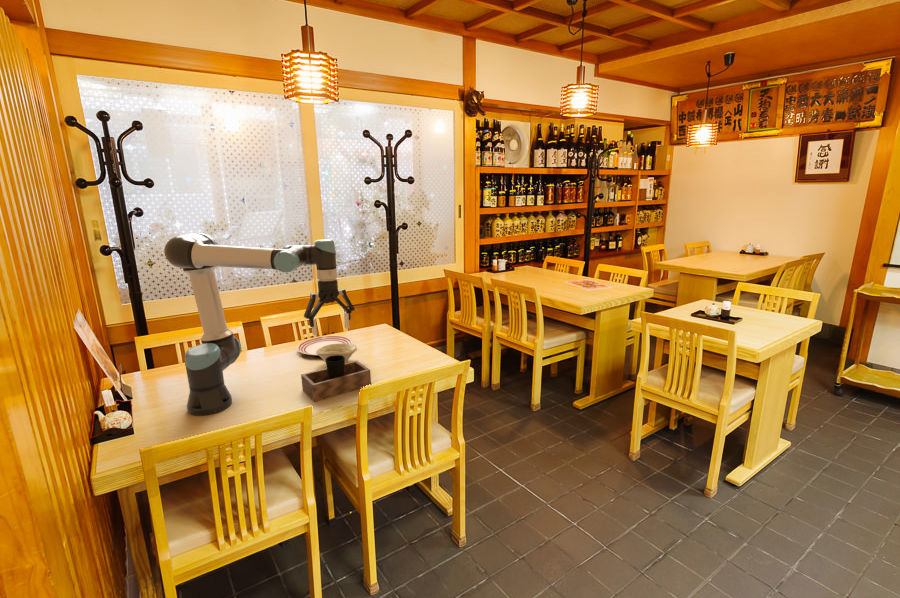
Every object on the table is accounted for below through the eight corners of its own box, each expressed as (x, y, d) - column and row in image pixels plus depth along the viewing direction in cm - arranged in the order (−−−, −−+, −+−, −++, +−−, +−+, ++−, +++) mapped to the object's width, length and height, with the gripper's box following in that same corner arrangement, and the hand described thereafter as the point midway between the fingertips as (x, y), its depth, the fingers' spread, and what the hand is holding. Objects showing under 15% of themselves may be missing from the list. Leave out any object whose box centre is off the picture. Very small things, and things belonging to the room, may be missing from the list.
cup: (341, 390, 181) (339, 362, 178) (324, 388, 182) (322, 361, 179) (349, 382, 188) (347, 355, 185) (333, 381, 189) (330, 354, 187)
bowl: (324, 378, 206) (308, 354, 210) (356, 364, 218) (341, 341, 223) (332, 362, 196) (315, 337, 201) (365, 348, 209) (348, 325, 214)
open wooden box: (314, 402, 173) (312, 385, 171) (302, 390, 183) (301, 374, 182) (371, 385, 187) (370, 369, 185) (357, 375, 197) (356, 360, 196)
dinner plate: (345, 359, 217) (345, 353, 216) (289, 359, 218) (288, 353, 217) (357, 340, 244) (357, 335, 243) (307, 341, 244) (307, 335, 244)
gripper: (298, 285, 164) (303, 339, 169) (360, 276, 179) (363, 327, 184) (292, 281, 170) (297, 335, 175) (352, 274, 184) (355, 323, 189)
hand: (331, 331), depth 179 cm, fingers open, 13 cm apart
